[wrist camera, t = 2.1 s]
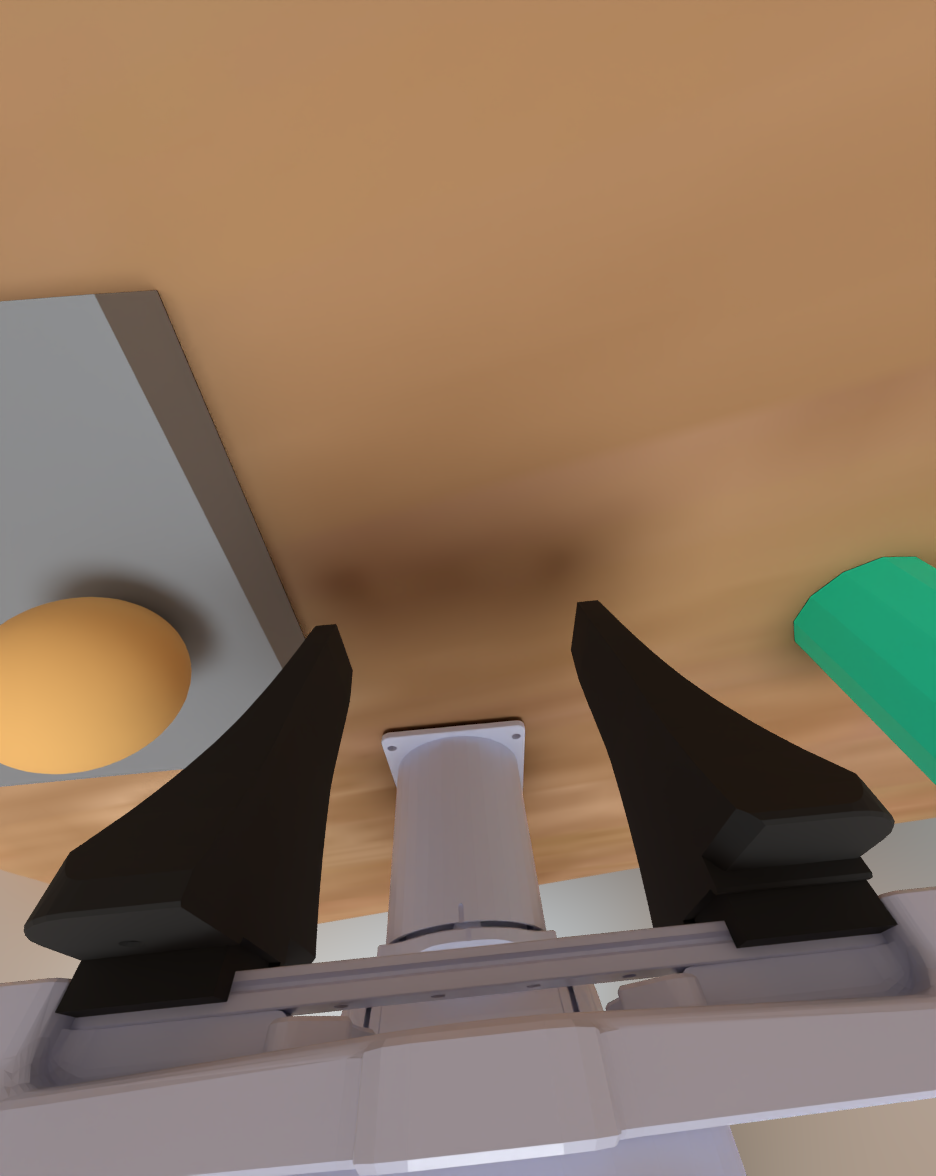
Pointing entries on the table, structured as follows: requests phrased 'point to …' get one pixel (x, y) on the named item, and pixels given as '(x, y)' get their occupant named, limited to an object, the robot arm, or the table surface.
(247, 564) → the plate
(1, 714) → the ball
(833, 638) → the candle
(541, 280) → the table surface
